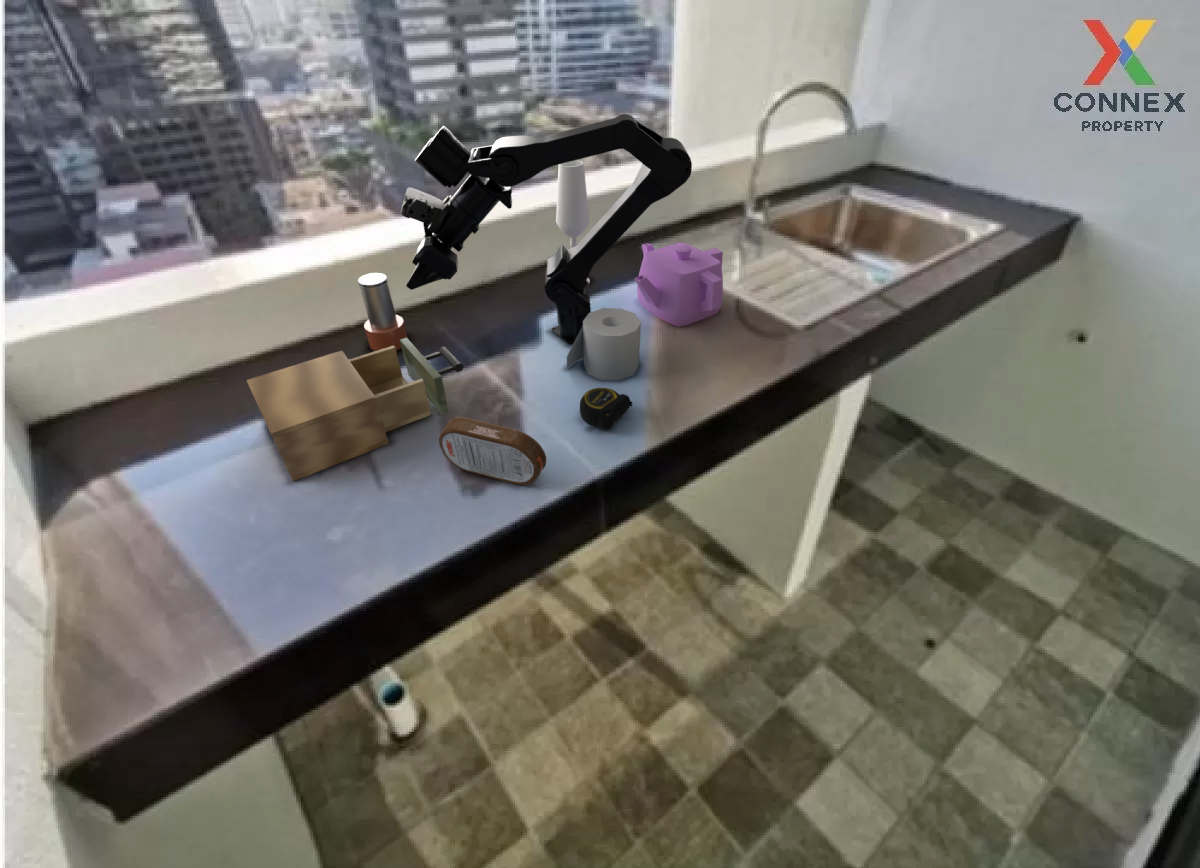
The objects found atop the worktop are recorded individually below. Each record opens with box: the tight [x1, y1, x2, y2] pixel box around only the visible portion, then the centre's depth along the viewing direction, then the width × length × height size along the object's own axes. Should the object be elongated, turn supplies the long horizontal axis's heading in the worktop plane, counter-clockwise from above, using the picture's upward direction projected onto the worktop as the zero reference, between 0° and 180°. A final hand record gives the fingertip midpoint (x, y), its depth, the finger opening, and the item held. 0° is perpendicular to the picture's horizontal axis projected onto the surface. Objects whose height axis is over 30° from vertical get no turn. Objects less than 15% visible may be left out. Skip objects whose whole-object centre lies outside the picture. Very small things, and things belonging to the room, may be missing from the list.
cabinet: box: [246, 350, 390, 482], centre depth 87 cm, size 14×15×9 cm
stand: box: [363, 314, 409, 352], centre depth 109 cm, size 7×7×4 cm
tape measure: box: [579, 387, 634, 430], centre depth 92 cm, size 7×7×4 cm
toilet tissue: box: [566, 307, 642, 382], centre depth 101 cm, size 9×13×9 cm
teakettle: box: [634, 242, 724, 328], centre depth 117 cm, size 17×17×12 cm
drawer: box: [348, 338, 464, 433], centre depth 93 cm, size 17×13×7 cm
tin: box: [438, 416, 547, 486], centre depth 81 cm, size 15×3×8 cm, turn 71°
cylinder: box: [357, 272, 397, 330], centre depth 105 cm, size 5×5×8 cm
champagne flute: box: [555, 159, 591, 284], centre depth 121 cm, size 7×7×24 cm
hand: (411, 275), depth 103 cm, fingers open, 9 cm apart
